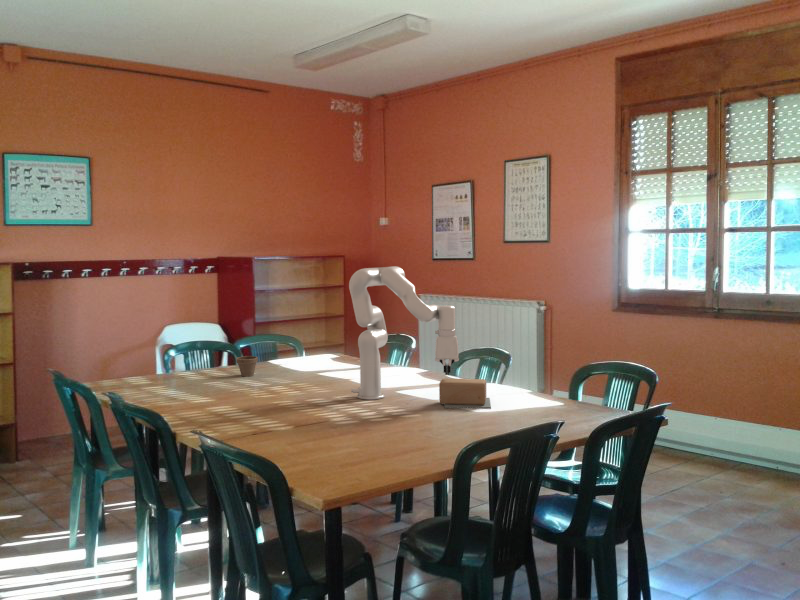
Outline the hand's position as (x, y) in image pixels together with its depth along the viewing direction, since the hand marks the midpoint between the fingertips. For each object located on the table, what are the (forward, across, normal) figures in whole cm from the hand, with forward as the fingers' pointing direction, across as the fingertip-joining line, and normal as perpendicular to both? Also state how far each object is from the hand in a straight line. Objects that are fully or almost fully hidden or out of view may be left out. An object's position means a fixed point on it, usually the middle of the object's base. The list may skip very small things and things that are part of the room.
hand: (447, 374), depth 342 cm
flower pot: (+13, -111, +68) cm, 131 cm away
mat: (+13, +9, 0) cm, 16 cm away
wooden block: (+8, -3, -1) cm, 8 cm away
